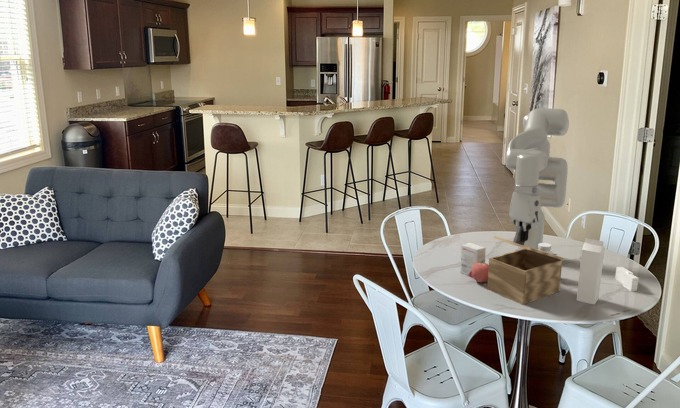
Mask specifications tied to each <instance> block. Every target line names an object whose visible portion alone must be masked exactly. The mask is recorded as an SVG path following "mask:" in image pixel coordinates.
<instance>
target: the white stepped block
mask: <svg viewBox="0 0 680 408" xmlns="http://www.w3.org/2000/svg"><path fill="white" fill-rule="evenodd" d="M634 274H635V273H633V272H632V271H631V270H629V269H627V268H626V267H624V266H616V269H615V277H614V280H616V281H617V282H619V283H620V284H621V285H622V286H623V287H624V288H625V289H627V290H629V291H630V292H637V291H638V286H639V279H640V277H637V276H636V275H634Z"/></svg>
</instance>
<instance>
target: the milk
mask: <svg viewBox="0 0 680 408" xmlns="http://www.w3.org/2000/svg"><path fill="white" fill-rule="evenodd" d="M580 255H581V256H580V265H579V271H578V272H579V273H578V282H577V283H578V284H577V293H576V301H577V302H582V303H585V304H590V305H596V303H597V302H598V300H599V298H600V290H601V283H602V282H601V281H602V273H603V266H604V265H603V264H604V258H605V257H604V255H605V246H604V241H602V240H598V239H591V238H584V243H583V245H582V248H581V254H580Z"/></svg>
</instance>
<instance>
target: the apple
mask: <svg viewBox="0 0 680 408" xmlns="http://www.w3.org/2000/svg"><path fill="white" fill-rule="evenodd" d="M488 269H489V263H486V262H485V263H482V262H481V263H476V264H474V265H473V267H472V269H471V271H472V276H473V277H472V278H473V279H474V280H475V282H478V283H480V284H481V283H486V282H488Z"/></svg>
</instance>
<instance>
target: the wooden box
mask: <svg viewBox="0 0 680 408" xmlns="http://www.w3.org/2000/svg"><path fill="white" fill-rule="evenodd" d="M488 265H489V269H488V281H487V287H486V289H487V290H488V291H491V292H493V293H495V294H497V295H499V296H502V297H504V298H506V299H509V300H511V301H513V302H515V303H518V304H520V305H525V304H526V305H527V304H528V303H532V302H534V301H536V300H539V299H542V298H545V297H547V296H551V295H553V294H554V295H555V293H559V292H560V289H561V288H560V287H561V280H562V279H561V278H562V268H563V260H561V259H557V258H554V257H551V256H547V255H544V254H541V253H537V252H534V251H530V250H527V249H521V250H517V251H515V250H514V251H511V252H507V253H504V254H501V255H496V256H492V257H490V258H488Z"/></svg>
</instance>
